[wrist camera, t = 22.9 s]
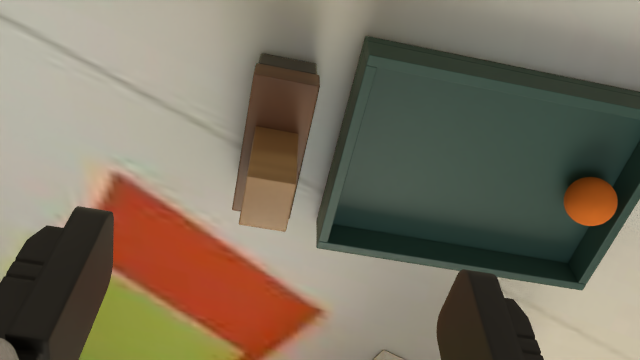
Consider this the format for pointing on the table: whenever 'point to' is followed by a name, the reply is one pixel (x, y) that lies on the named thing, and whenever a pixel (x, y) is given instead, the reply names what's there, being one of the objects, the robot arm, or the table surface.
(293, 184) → the brush
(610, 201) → the ball
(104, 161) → the table surface
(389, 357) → the stack of papers
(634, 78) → the table surface
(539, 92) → the tray
